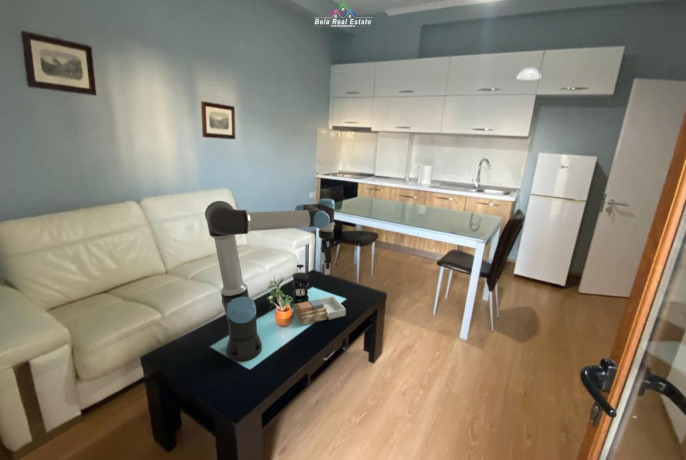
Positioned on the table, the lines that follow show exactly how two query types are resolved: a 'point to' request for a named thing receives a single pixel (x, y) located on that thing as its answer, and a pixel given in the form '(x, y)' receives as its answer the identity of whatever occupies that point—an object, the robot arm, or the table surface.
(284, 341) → the table surface
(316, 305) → the slate tile
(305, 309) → the terracotta tile
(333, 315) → the tray
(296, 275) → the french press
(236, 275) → the robot arm
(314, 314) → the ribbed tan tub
